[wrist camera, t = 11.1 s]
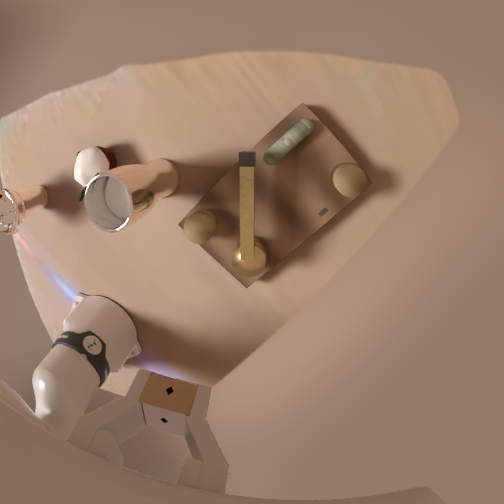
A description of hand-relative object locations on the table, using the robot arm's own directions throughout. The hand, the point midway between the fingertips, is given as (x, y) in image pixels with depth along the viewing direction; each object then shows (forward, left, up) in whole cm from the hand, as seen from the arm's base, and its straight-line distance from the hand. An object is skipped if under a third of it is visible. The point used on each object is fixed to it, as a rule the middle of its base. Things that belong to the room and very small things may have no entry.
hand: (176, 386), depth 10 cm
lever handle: (-1, -1, -30) cm, 30 cm away
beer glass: (-8, +12, -33) cm, 36 cm away
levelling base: (+2, -2, -33) cm, 33 cm away
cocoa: (-13, +21, -33) cm, 41 cm away
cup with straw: (-29, +31, -33) cm, 54 cm away
